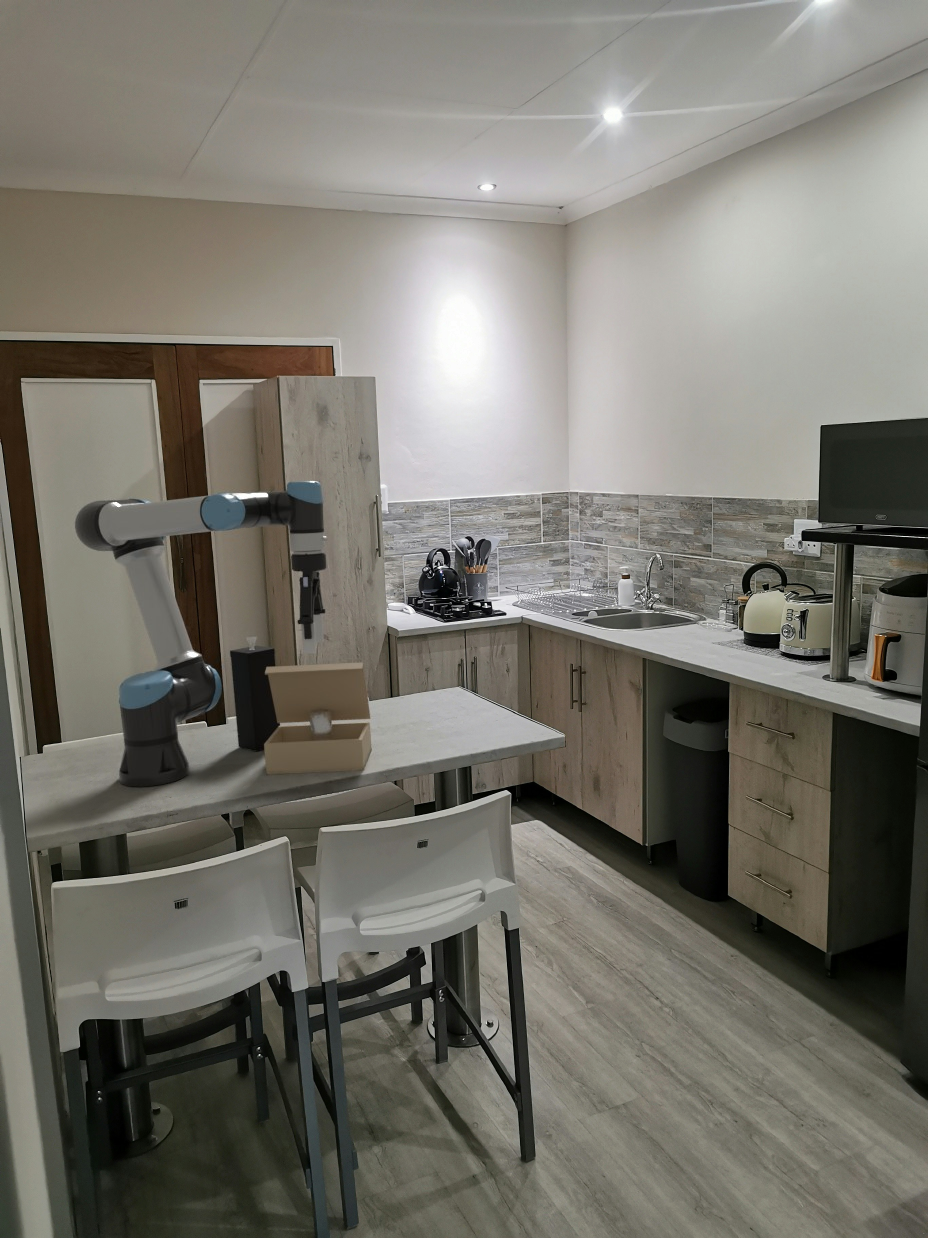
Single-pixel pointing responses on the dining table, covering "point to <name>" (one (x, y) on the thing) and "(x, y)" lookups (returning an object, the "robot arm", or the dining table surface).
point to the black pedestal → (253, 695)
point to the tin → (321, 725)
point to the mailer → (318, 749)
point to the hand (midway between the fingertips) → (313, 648)
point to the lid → (319, 691)
